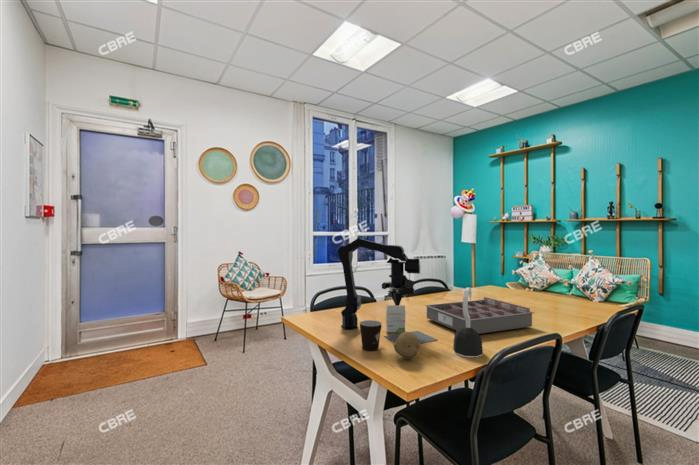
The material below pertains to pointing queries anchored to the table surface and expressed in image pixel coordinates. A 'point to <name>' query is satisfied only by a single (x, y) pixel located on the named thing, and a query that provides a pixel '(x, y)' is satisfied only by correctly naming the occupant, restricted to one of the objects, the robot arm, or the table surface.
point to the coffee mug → (370, 334)
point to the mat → (421, 336)
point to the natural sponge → (407, 345)
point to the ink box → (395, 318)
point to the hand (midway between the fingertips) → (397, 306)
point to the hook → (467, 334)
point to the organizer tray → (481, 315)
